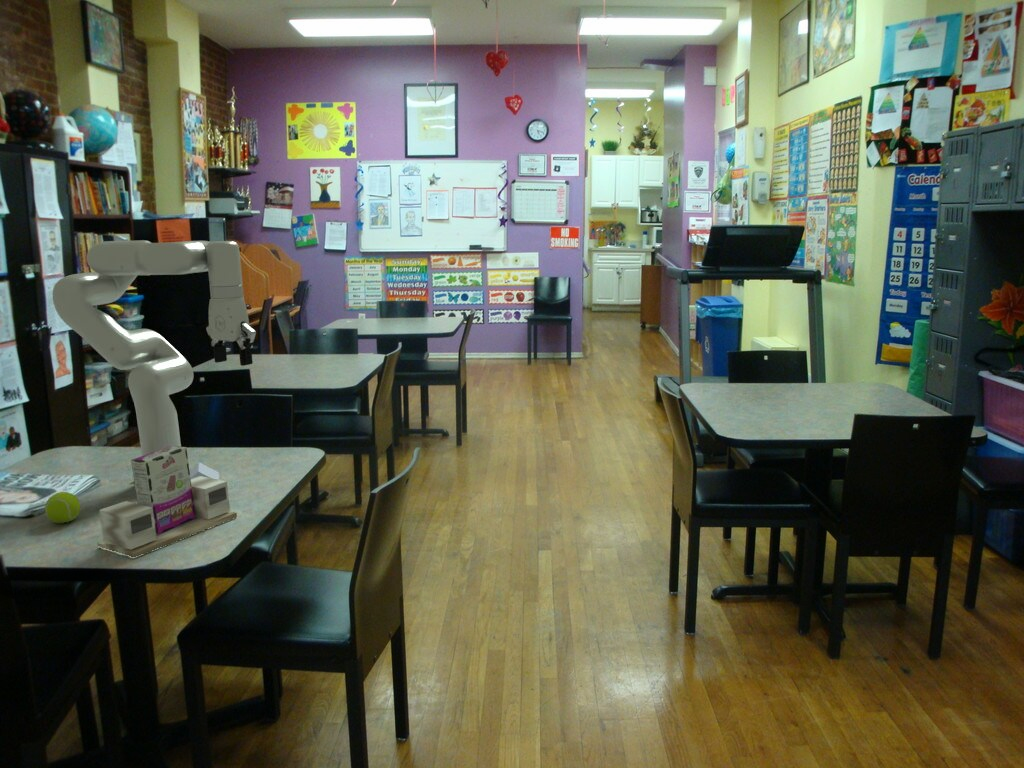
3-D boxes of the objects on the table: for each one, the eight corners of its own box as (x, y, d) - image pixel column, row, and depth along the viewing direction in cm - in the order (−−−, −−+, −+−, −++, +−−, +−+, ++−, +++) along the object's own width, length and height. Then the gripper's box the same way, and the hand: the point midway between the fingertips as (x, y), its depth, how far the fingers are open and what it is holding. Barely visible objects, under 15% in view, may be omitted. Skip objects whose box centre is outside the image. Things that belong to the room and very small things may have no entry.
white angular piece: (182, 490, 211) (180, 506, 199) (179, 464, 210) (177, 479, 198) (220, 485, 214) (220, 500, 202) (217, 460, 213) (217, 474, 201)
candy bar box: (179, 515, 188) (171, 444, 185) (196, 518, 186) (188, 446, 183) (139, 533, 178) (129, 458, 175) (156, 536, 176) (147, 460, 173)
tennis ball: (56, 517, 194) (51, 488, 193) (87, 516, 195) (83, 487, 193) (41, 528, 187) (37, 498, 186) (73, 526, 188) (69, 497, 186)
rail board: (98, 548, 174) (92, 509, 173) (201, 509, 196) (198, 474, 194) (133, 559, 168) (128, 518, 167) (237, 517, 190) (233, 481, 188)
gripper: (191, 293, 204) (198, 363, 207) (237, 295, 194) (244, 368, 198) (217, 290, 210) (224, 358, 213) (263, 292, 200) (269, 363, 204)
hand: (233, 363), depth 206 cm, fingers open, 9 cm apart
